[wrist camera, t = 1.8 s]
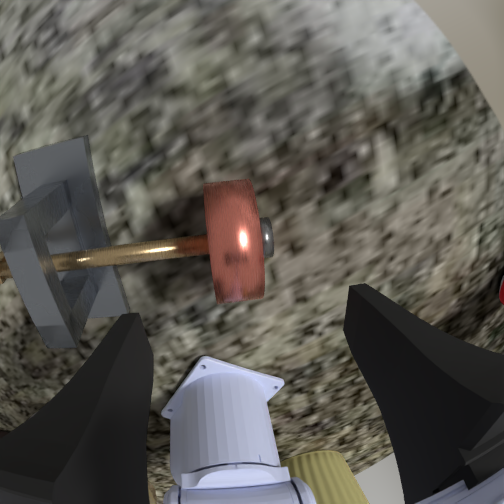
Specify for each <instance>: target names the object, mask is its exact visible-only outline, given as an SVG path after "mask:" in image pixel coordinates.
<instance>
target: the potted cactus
mask: <svg viewBox="0 0 504 504" xmlns="http://www.w3.org/2000/svg"><path fill="white" fill-rule="evenodd" d="M280 465H281V467H288V471H289V475H290V478H292V477H298V478H300V479H301V480H302V481H303V482H305V483H306V484H307V485H308V486H309V487H310V489H311V490H312V493H313V495H314V497H315V500H316V504H369V502H368V500H367V499H366V497H365V495H364V493H363V491H362V490H361V488H360V487H359V484H358V483H357V481H356V479H355V477H354V475H353V474H352V472H351V470H350V468H349V466H348V465H347V463H346V461H345V459H344V457H343V456H342V455H341V454H340V453H339V452H337V451H331V450H324V451H315V452H309V453H305V454H301V455H297V456H294V457H291V458H288V459H286V460H283V461H281V462H280Z"/></svg>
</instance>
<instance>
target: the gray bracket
mask: <svg viewBox="0 0 504 504" xmlns="http://www.w3.org/2000/svg"><path fill="white" fill-rule="evenodd" d="M13 158H14V163H15V167H16V172H17V176H18V181H19V185H20V189H21V193H22V197H23V199H21V200H20V201H19V202H17V203H16V204H15V205H14V206H12V207H11V208H10V209H9V210H7V211H6V212H5V213H4V214H2V215H1V216H0V245H1V248H2V251H3V253H4V256H5V259H6V261H7V264H8V266H9V269H10V271H11V274H12V276H13V279H14V281H15V283H16V286H17V288H18V290H19V292H20V295H21V297H22V299H23V301H24V303H25V306H26V308H27V310H28V312H29V314H30V316H31V318H32V320H33V322H34V324H35V326H36V328H37V330H38V332H39V334H40V336H41V337H42V339H43V341H44V343H45V345H46V347H47V348H77V345H78V343H79V340H80V337H81V334H82V332H83V329H84V326H85V324H86V321H87V319H88V318H99V317H112V316H121V315H122V314H127V313H129V310H130V307H129V304H128V301H127V298H126V295H125V291H124V288H123V285H122V282H121V278H120V275H119V272H118V268H117V265H114V266H105V267H97V268H89V269H81V270H72V271H64V272H56V269H55V266H54V264H53V261H52V258H51V255H52V254H59V253H66V252H73V251H80V250H87V249H95V248H102V247H109V246H111V243H110V239H109V235H108V232H107V228H106V224H105V219H104V215H103V211H102V207H101V202H100V198H99V193H98V188H97V184H96V179H95V174H94V168H93V163H92V158H91V152H90V146H89V140H88V135H86V136H82V137H77V138H73V139H69V140H65V141H62V142H58V143H54V144H51V145H47V146H43V147H40V148H36V149H33V150H30V151H27V152H23V153H20V154H18V155H16V156H14V157H13Z"/></svg>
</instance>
